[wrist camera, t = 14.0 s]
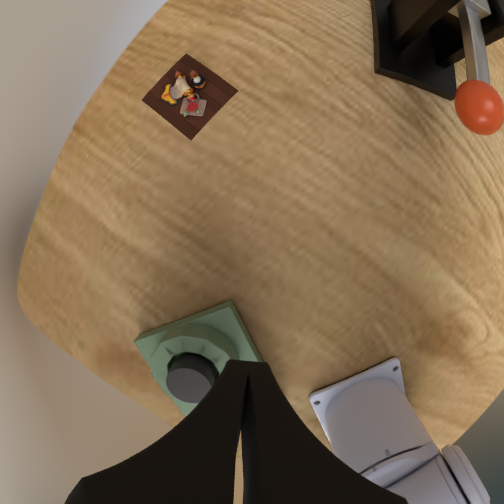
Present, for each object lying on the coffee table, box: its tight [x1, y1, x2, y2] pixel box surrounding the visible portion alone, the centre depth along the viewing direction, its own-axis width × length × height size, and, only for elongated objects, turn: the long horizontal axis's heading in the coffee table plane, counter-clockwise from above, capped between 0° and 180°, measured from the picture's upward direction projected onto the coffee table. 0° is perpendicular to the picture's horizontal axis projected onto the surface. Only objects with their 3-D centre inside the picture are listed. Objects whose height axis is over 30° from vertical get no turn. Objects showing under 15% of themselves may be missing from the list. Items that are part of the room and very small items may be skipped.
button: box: [166, 354, 216, 404], centre depth 17 cm, size 3×3×2 cm
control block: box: [134, 300, 263, 416], centre depth 19 cm, size 10×8×3 cm
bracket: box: [371, 0, 504, 101], centre depth 10 cm, size 9×7×10 cm
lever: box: [448, 0, 504, 135], centre depth 8 cm, size 11×3×3 cm, turn 174°
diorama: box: [142, 54, 238, 140], centre depth 16 cm, size 3×4×2 cm
